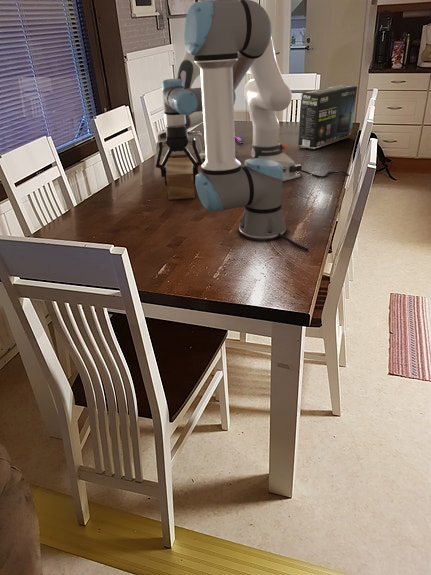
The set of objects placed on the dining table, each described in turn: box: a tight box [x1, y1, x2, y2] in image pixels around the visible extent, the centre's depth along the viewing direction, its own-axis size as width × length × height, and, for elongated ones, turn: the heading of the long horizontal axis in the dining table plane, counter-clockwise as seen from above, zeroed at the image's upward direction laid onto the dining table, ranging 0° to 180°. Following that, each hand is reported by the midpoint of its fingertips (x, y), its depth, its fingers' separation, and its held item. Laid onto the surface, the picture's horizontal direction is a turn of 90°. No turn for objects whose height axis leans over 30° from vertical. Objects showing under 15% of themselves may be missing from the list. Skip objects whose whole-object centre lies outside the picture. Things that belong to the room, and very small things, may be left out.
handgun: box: [235, 136, 244, 146], centre depth 255 cm, size 21×8×2 cm, turn 11°
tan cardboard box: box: [165, 157, 196, 200], centre depth 185 cm, size 21×10×10 cm, turn 4°
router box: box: [297, 84, 358, 151], centre depth 238 cm, size 36×11×27 cm, turn 134°
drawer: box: [169, 154, 188, 158], centre depth 195 cm, size 25×9×8 cm, turn 4°
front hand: (180, 183), depth 179 cm, fingers closed on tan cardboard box, 10 cm apart
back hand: (180, 164), depth 204 cm, fingers closed, pressing on drawer
